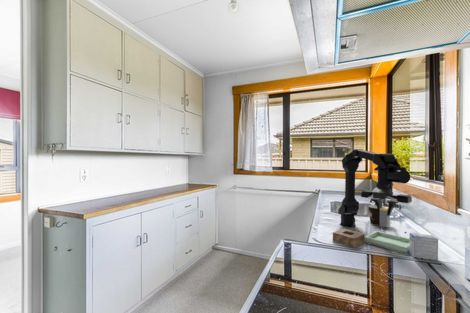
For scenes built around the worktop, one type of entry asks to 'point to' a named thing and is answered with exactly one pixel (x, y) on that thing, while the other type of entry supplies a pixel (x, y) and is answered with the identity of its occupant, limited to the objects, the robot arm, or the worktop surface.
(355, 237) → the brown block with hole
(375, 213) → the coffee mug
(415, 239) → the medicine box
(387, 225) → the pin
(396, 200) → the robot arm
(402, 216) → the worktop surface
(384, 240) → the tray
